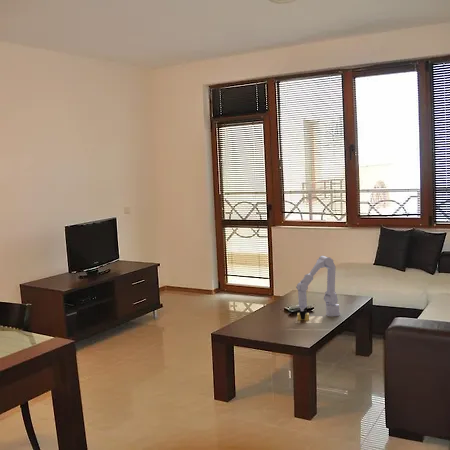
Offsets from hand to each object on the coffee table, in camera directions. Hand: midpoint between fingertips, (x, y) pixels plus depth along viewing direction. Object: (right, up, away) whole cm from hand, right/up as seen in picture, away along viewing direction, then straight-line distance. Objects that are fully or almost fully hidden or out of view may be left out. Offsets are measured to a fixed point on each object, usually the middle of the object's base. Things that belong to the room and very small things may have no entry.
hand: (303, 318), depth 388 cm
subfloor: (+4, -2, -1) cm, 4 cm away
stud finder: (0, -1, 0) cm, 1 cm away
